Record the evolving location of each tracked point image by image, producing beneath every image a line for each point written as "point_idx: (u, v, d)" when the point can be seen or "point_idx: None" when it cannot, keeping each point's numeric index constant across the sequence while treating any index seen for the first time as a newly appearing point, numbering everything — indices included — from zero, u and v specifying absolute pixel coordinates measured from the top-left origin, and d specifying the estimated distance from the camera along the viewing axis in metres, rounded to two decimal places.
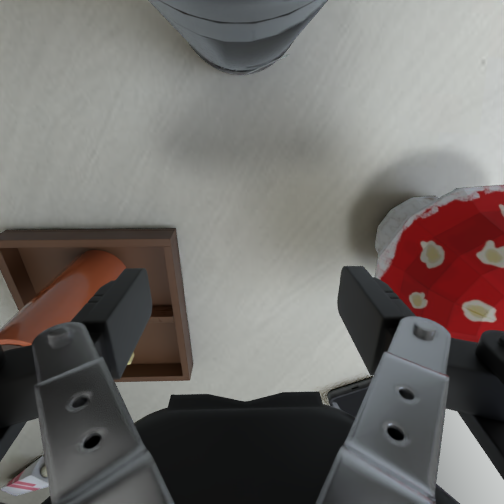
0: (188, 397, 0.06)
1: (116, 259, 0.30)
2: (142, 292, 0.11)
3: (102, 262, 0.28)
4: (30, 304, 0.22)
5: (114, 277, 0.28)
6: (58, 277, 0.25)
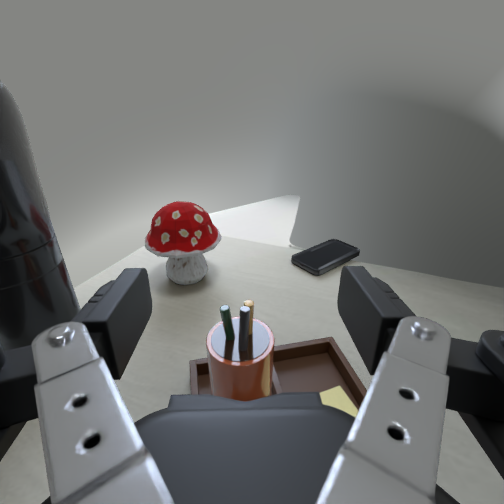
0: (188, 396, 0.06)
1: None
2: (142, 292, 0.11)
3: None
4: (211, 383, 0.26)
5: None
6: None
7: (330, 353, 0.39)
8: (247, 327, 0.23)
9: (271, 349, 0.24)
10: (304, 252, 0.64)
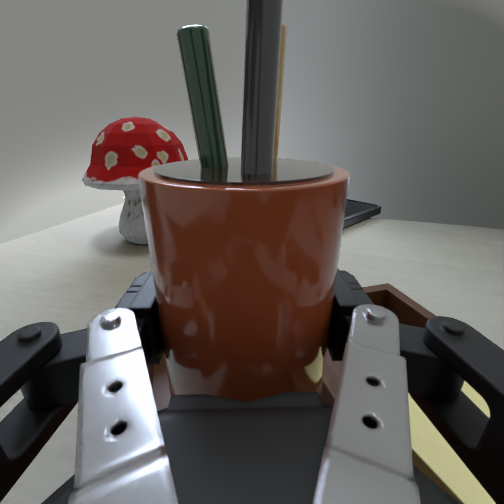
0: (188, 396, 0.06)
1: None
2: None
3: None
4: (161, 311, 0.08)
5: None
6: None
7: (390, 310, 0.23)
8: (274, 70, 0.07)
9: None
10: None
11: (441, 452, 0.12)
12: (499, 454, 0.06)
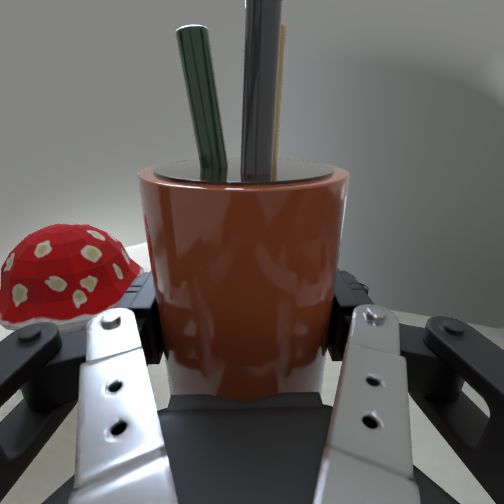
0: (188, 396, 0.06)
1: None
2: None
3: None
4: (160, 312, 0.08)
5: None
6: None
7: None
8: (273, 69, 0.07)
9: None
10: None
11: None
12: (499, 454, 0.06)
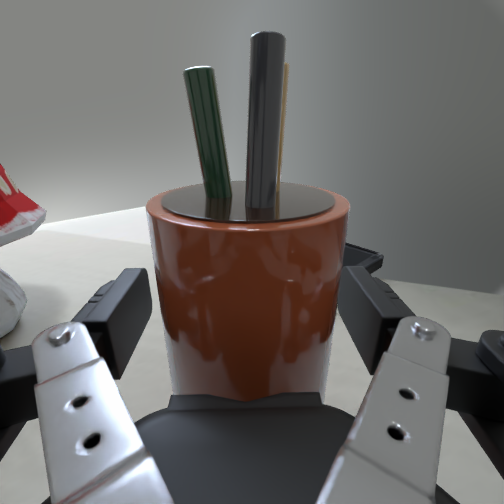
0: (188, 397, 0.06)
1: None
2: (142, 292, 0.11)
3: None
4: (167, 336, 0.09)
5: None
6: None
7: None
8: (277, 110, 0.07)
9: None
10: None
11: None
12: None
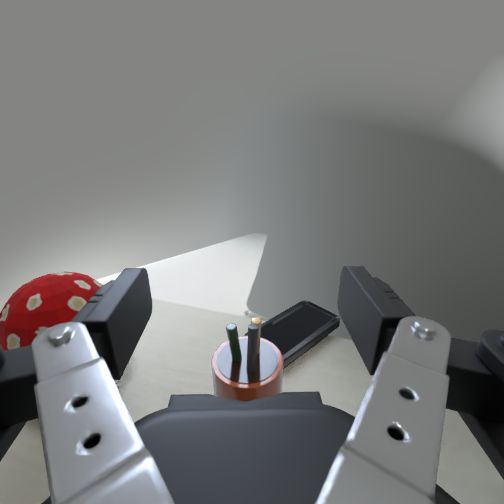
0: (188, 397, 0.06)
1: None
2: (142, 292, 0.11)
3: None
4: None
5: None
6: None
7: None
8: (256, 346, 0.22)
9: (281, 368, 0.23)
10: (263, 326, 0.46)
11: None
12: None
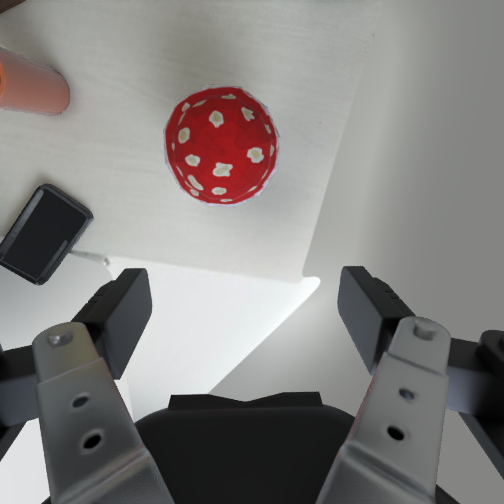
0: (188, 396, 0.06)
1: (68, 101, 0.38)
2: (142, 292, 0.11)
3: (63, 93, 0.36)
4: (16, 57, 0.29)
5: (57, 106, 0.36)
6: (38, 65, 0.33)
7: None
8: None
9: None
10: (74, 234, 0.44)
11: None
12: None
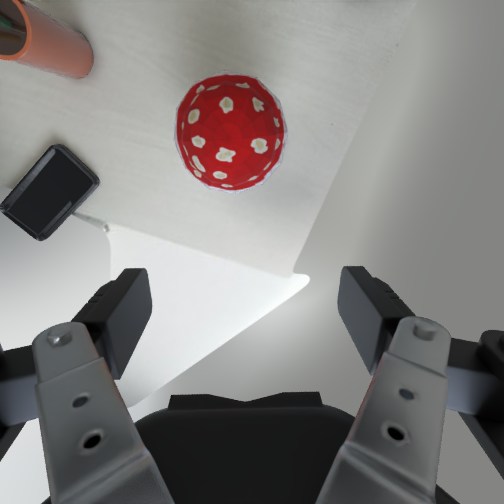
0: (188, 396, 0.06)
1: (90, 67, 0.39)
2: (142, 293, 0.11)
3: (86, 58, 0.37)
4: (45, 17, 0.30)
5: (78, 70, 0.37)
6: (65, 27, 0.34)
7: None
8: None
9: None
10: (79, 197, 0.45)
11: None
12: None
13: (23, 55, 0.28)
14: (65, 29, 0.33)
